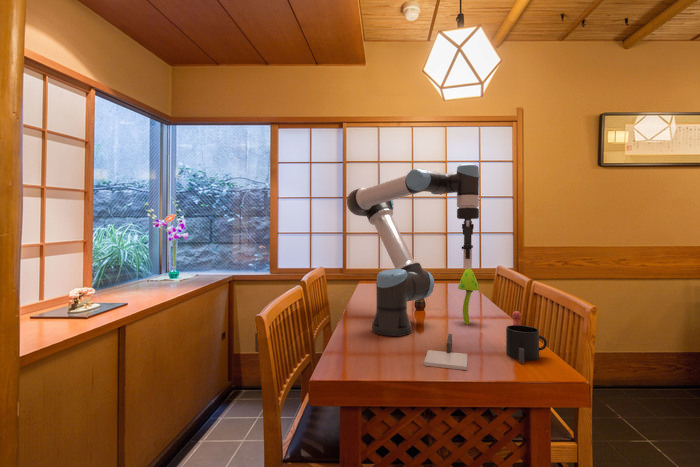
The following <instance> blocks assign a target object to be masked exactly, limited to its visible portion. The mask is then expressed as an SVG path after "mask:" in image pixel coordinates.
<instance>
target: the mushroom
mask: <svg viewBox="0 0 700 467" xmlns="http://www.w3.org/2000/svg"><path fill="white" fill-rule="evenodd" d="M457 287H458V288H457V289H458V290H462V291H465V296H464V300H463V305H462V318H463V321H464V324H465V325H468V324H469V325H471V322H470V315H469V306H470V304H469V303H470V300H471V295H472V293H473V292H474V291H479V290H480V287H479V283H478V280H477V277H476V276H475V273H474V271H473V270H472V269H465V270H464V272H463V273H462V275H461V278H460V281H459V284H458V286H457Z"/></svg>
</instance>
